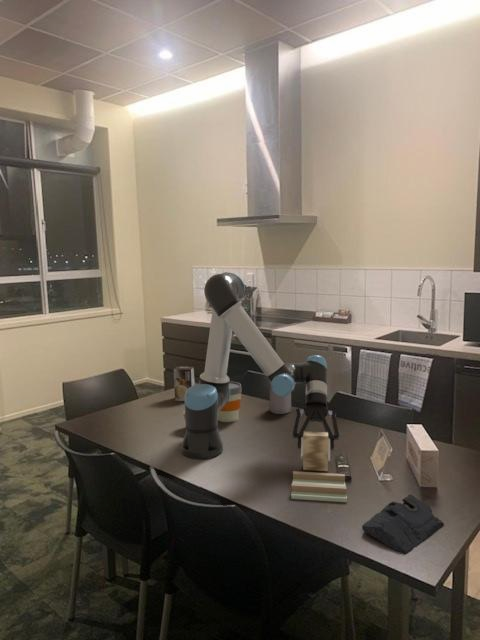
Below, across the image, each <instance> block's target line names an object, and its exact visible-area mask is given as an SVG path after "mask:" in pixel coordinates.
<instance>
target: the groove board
mask: <svg viewBox="0 0 480 640" xmlns="http://www.w3.org/2000/svg"><path fill="white" fill-rule="evenodd" d="M290 485H291V492H290V499H291V500H305V501H321V502H335V503H336V502H337V503H347V502H348V496H347V490H348V489H347V485H346V474H345V473H333V472H311V471H296V470H295V471H294V470H293V471H292V483H291V484H290Z"/></svg>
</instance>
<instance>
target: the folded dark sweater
mask: <svg viewBox="0 0 480 640" xmlns="http://www.w3.org/2000/svg"><path fill="white" fill-rule="evenodd" d="M401 501H402V502H403V503H400V502H397V501H394V500H393V501H391V502H389V503H388V504H387V505H386V506H385V507H384V508H383V509H381V511H380V512H377V513H375V514H374V515H373V516H372V517H371V518H370V519H369V520H368V521H366V522H364V524H362V525H361V527H362V531H363V532H365V533H367V534H368V535H369V536H372V537H373V538H375V539H376V540H378V541H380V542H382V543H383V544H384V545H385V546H387V547H389V548H391V549H392V550H394V551H396V552H399V553H403V554H408V553H410V552H412V551H413V550H414V548H415V549H416V548H417V547H418V546H420V545H421V544H423V543H424V542H425V541H427V540H428V539H429V538H431V536H433V535H434V534H435V533H436V532H437V531H439V530H440V529H441V528H442V527H444V526H445V523H444V522H443V521H442V519H439V517H437V516H436V517H435V516H434V514H433V511H432V509H431V506H430V505H429V504H428V503H426V502H424V501H422V500H420V499H418V498H417V497H416V496H414V495H413V494H408V495H407V496H405V497H404V498H402V500H401Z"/></svg>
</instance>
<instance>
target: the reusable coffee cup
mask: <svg viewBox="0 0 480 640" xmlns="http://www.w3.org/2000/svg"><path fill="white" fill-rule="evenodd" d="M229 387H230V397H229V400H228V402H227V403H226V405H225V406H224V407H223V408H222V409H221V410H220V411H219V412H218V422H222V423H231V422H236V421H238V420H239V414H240V413H239V412H240V408H241V402H242V396H241V395H242V392H243V390H242V389H243V388H242V384H241V383H240V382H238V381H237V382H236V381H229Z"/></svg>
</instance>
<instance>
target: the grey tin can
mask: <svg viewBox="0 0 480 640" xmlns="http://www.w3.org/2000/svg"><path fill="white" fill-rule="evenodd" d="M291 411H292V392H291V393H290V394H289V395H287V396H279V395H277V394H275V393H274V392H273V390H272V387H271V382H270V381H269V412H271V413H272V414H275V415H286V414H288V413H291Z"/></svg>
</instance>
